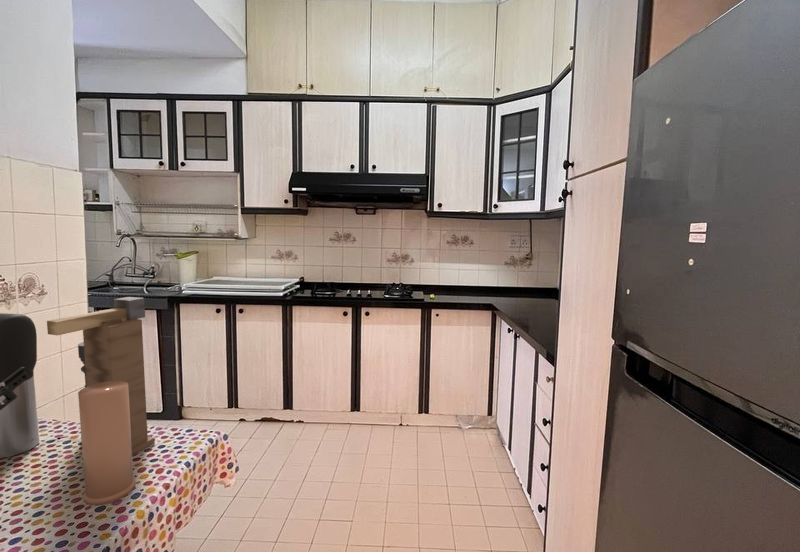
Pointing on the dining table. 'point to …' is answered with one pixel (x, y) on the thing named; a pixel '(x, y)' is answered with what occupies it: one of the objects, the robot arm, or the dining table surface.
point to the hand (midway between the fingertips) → (11, 367)
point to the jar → (106, 442)
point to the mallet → (99, 316)
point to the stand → (120, 369)
